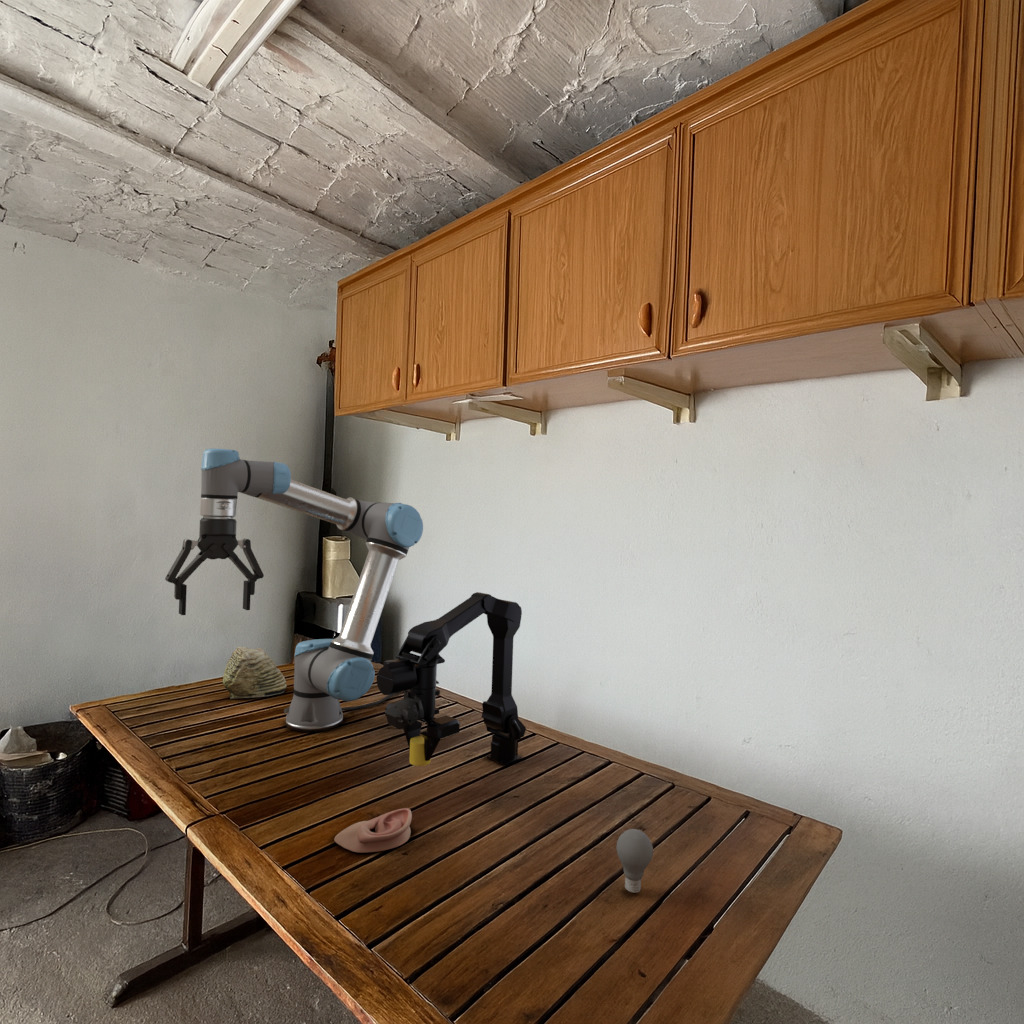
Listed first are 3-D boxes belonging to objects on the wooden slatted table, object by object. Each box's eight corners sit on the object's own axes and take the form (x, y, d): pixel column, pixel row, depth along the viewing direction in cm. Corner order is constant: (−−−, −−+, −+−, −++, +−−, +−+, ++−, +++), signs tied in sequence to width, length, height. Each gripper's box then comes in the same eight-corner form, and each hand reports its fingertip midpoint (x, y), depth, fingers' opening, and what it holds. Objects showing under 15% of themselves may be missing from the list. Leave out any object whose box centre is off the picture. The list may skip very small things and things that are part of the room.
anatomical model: (326, 826, 114) (355, 797, 125) (325, 847, 114) (354, 817, 126) (396, 837, 112) (418, 806, 123) (395, 859, 112) (417, 827, 123)
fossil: (218, 695, 195) (220, 647, 195) (278, 685, 208) (279, 640, 207) (228, 703, 189) (230, 653, 188) (289, 692, 201) (290, 645, 201)
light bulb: (610, 879, 108) (613, 822, 108) (644, 879, 109) (647, 822, 109) (619, 902, 102) (622, 840, 102) (655, 901, 103) (658, 840, 103)
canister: (405, 760, 138) (406, 738, 138) (424, 755, 141) (425, 734, 140) (415, 767, 134) (416, 745, 134) (434, 763, 137) (435, 741, 137)
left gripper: (160, 517, 131) (156, 619, 132) (280, 519, 148) (276, 609, 148) (152, 515, 137) (149, 613, 137) (268, 517, 153) (265, 604, 154)
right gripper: (366, 682, 137) (363, 754, 138) (421, 704, 125) (418, 782, 125) (407, 673, 146) (404, 740, 146) (462, 692, 133) (459, 766, 133)
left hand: (215, 611), depth 143 cm, fingers open, 13 cm apart
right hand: (420, 756), depth 137 cm, fingers closed on canister, 4 cm apart
